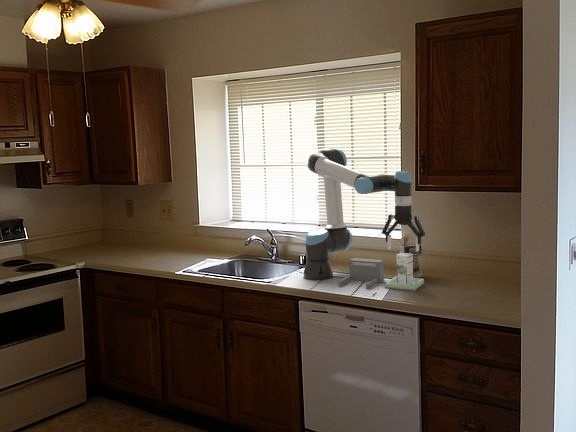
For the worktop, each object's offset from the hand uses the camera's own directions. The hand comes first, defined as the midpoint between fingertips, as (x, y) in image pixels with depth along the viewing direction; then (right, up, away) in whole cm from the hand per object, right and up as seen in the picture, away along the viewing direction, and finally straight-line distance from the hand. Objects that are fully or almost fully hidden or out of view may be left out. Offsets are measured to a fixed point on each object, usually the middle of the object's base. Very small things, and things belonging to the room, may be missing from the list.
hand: (403, 250), depth 283 cm
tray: (+1, -17, +2) cm, 17 cm away
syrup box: (+1, -16, +2) cm, 16 cm away
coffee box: (+7, -15, +19) cm, 25 cm away
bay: (-18, -17, +10) cm, 27 cm away
